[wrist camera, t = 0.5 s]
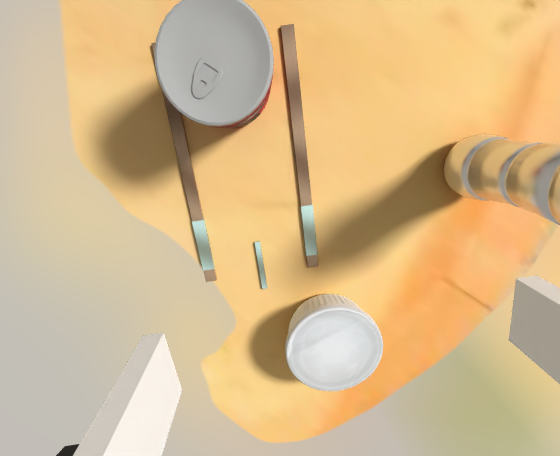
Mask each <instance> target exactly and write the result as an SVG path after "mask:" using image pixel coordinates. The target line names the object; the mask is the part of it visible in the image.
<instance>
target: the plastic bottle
mask: <svg viewBox="0 0 560 456" xmlns="http://www.w3.org/2000/svg"><path fill="white" fill-rule="evenodd" d="M444 175H445V179H446V181H447V183H448V185H449V186H450V187H451V188H452V189H453V190H454V191H455V192H457V193H458V194H460V195H462V196H464V197H466V198H469V199H475V200H491V201H496V202H501V203H506V204H511V205H514V206H517V207H520V208H522V209H525V210H527V211H530V212H533V213H536V214H538V215H540V216H542V217H544V218H546V219H548V220H550V221H552V222H554V223H556V224H558V225H560V143H531V142H524V141H518V140H511V139H508V138H506V137H502V136H498V135H493V134H479V135H474V136H470V137H467V138H465V139H463V140H461V141H459V142H458V143H457V144H456V145H455V146H454V147H453V148H452V149H451V150H450V152H449V154H448V155H447V158H446V160H445V165H444Z"/></svg>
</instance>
